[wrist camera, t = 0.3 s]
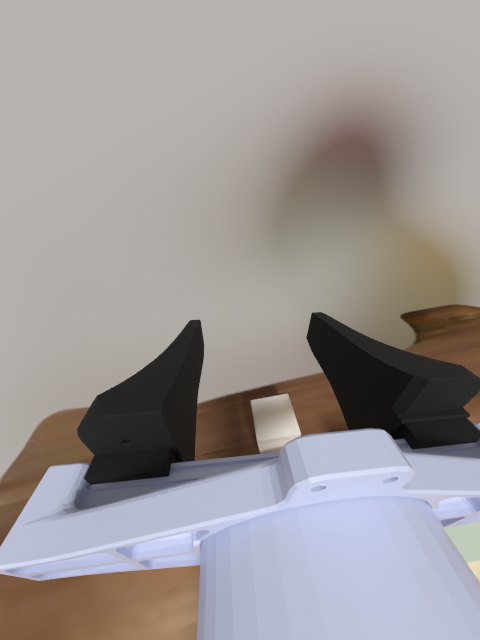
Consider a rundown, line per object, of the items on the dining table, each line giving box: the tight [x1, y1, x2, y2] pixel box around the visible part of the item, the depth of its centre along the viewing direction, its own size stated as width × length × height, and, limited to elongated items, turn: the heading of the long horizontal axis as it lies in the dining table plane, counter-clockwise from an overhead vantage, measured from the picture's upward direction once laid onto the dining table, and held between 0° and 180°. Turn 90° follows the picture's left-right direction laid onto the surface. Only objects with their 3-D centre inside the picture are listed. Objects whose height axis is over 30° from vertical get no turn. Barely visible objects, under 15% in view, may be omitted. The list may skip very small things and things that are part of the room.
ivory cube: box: [251, 394, 301, 454], centre depth 26 cm, size 5×5×5 cm
